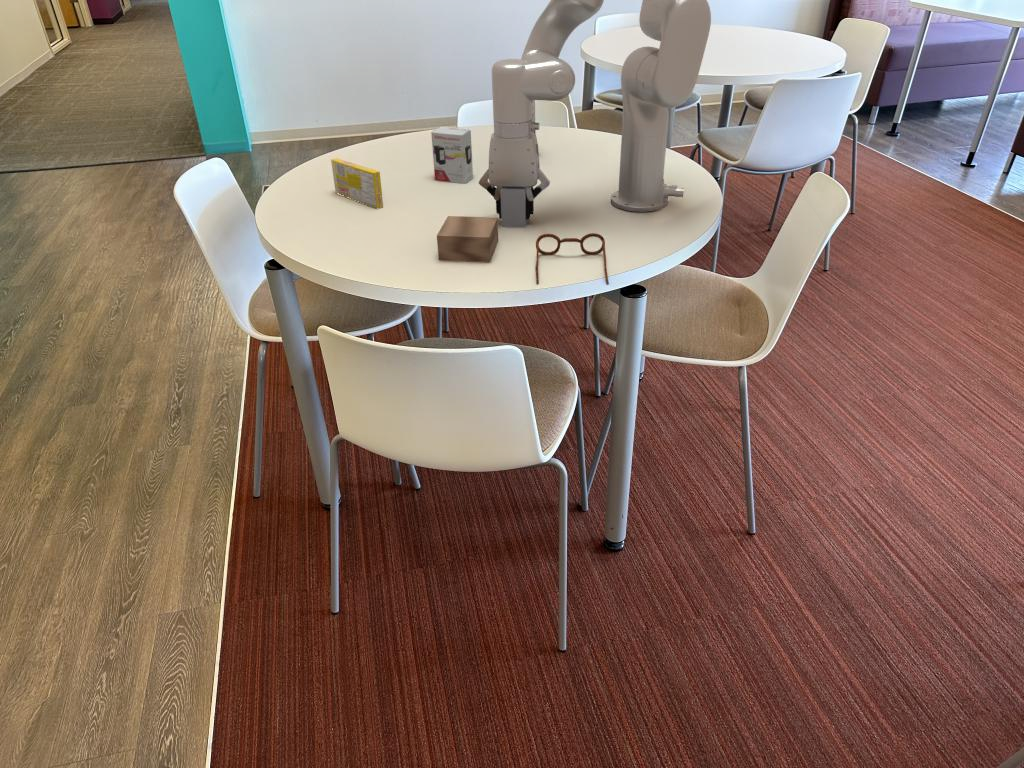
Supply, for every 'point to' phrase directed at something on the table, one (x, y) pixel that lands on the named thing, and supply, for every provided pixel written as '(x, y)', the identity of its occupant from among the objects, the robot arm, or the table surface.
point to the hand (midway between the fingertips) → (515, 216)
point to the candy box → (357, 182)
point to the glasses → (570, 241)
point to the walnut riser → (468, 239)
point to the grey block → (513, 207)
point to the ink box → (452, 154)
